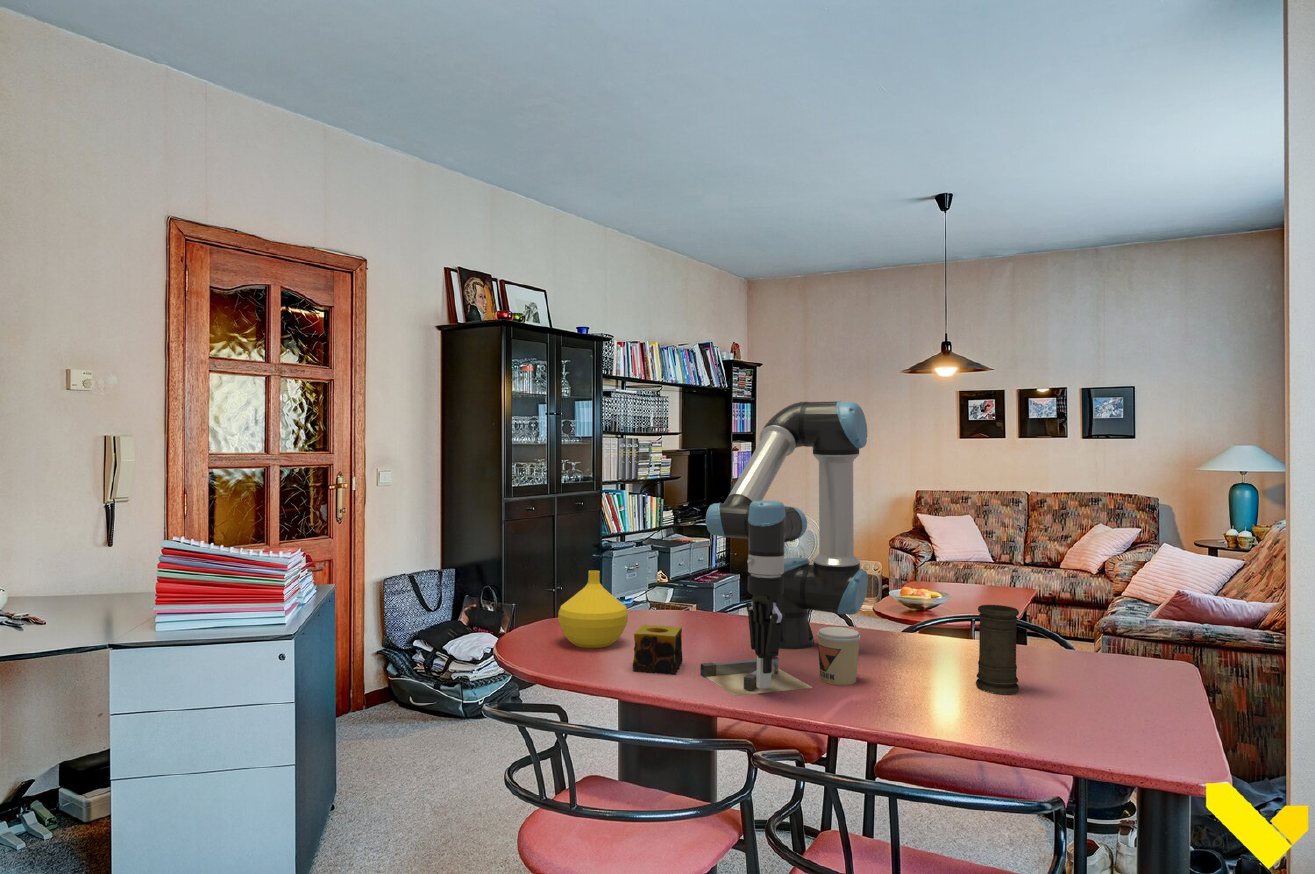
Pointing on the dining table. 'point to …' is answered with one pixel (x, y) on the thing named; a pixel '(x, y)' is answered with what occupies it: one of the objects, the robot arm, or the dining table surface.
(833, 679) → the coffee cup
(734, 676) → the board
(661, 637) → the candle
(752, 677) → the bar
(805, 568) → the robot arm
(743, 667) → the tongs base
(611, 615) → the vase
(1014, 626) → the container
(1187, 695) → the dining table surface
